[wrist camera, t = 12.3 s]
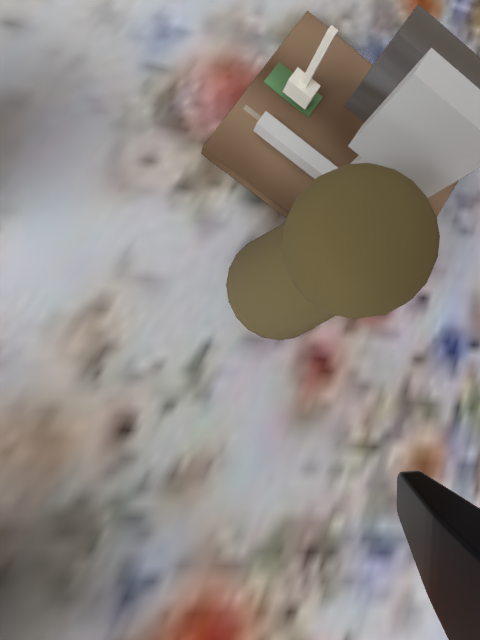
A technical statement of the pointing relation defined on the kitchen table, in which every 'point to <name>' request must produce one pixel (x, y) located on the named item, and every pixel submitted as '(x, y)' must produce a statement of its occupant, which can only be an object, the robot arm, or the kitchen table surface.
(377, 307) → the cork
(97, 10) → the kitchen table surface
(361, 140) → the block
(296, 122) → the board
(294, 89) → the pointer
